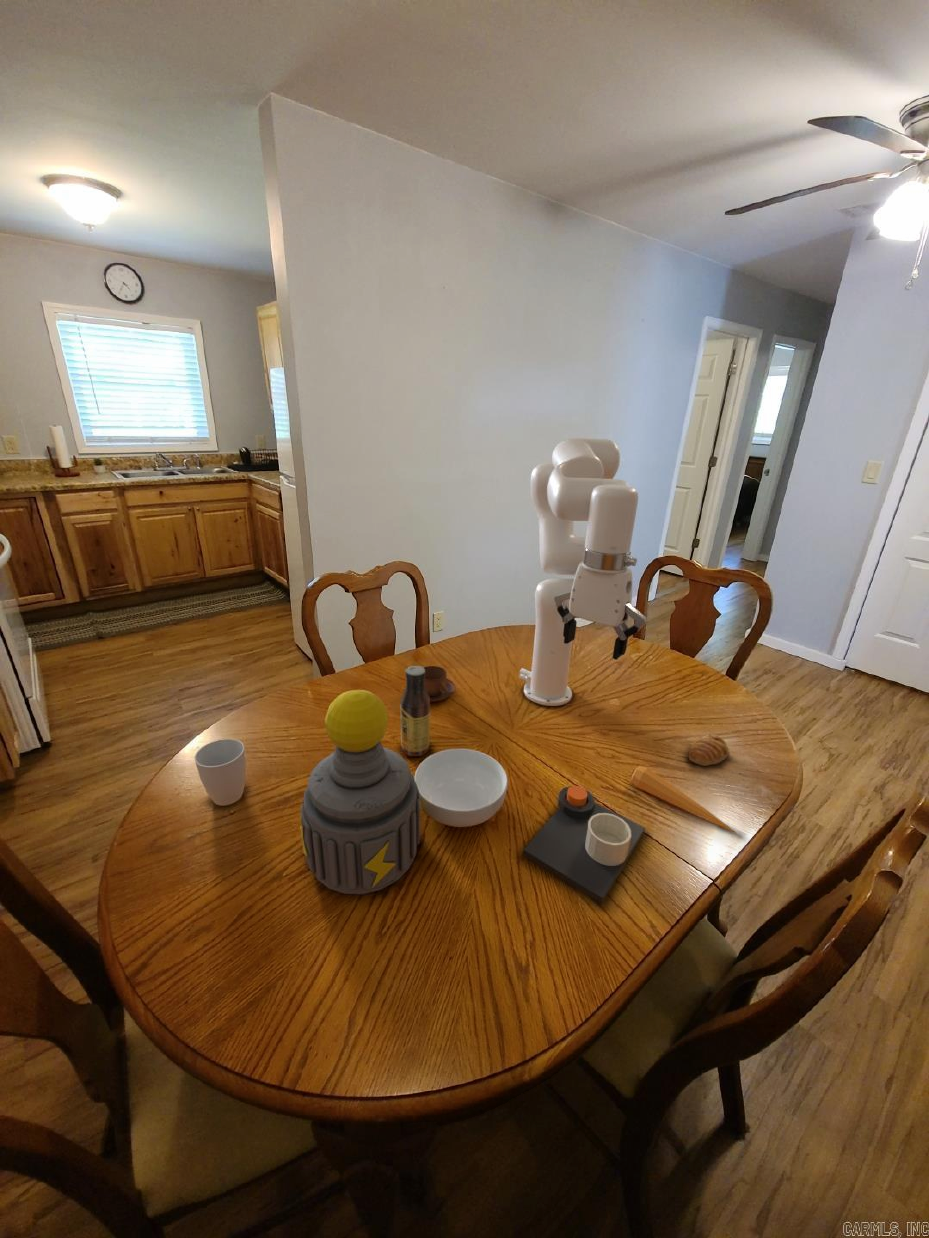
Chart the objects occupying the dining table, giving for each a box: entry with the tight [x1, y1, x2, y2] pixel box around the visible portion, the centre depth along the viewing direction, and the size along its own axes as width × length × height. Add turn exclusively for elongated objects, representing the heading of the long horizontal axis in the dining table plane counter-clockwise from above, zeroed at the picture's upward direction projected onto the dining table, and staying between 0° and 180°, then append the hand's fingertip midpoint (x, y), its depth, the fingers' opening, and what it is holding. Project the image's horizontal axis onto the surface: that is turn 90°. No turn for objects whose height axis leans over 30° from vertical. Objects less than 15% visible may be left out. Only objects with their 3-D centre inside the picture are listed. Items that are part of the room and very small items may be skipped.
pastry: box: [688, 734, 731, 767], centre depth 109 cm, size 9×7×4 cm
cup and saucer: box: [423, 665, 456, 703], centre depth 129 cm, size 12×12×6 cm
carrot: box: [630, 765, 737, 834], centre depth 95 cm, size 20×4×4 cm, turn 48°
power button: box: [566, 785, 588, 807], centre depth 92 cm, size 4×4×2 cm
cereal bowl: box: [413, 748, 509, 828], centre depth 92 cm, size 17×17×7 cm
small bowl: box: [585, 813, 631, 866], centre depth 82 cm, size 7×7×4 cm
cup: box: [193, 738, 247, 807], centre depth 92 cm, size 8×8×10 cm
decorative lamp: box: [299, 689, 423, 895], centre depth 78 cm, size 19×19×30 cm
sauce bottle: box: [399, 665, 431, 758], centre depth 105 cm, size 7×6×20 cm
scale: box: [522, 785, 646, 905], centre depth 86 cm, size 15×18×3 cm
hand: (592, 648), depth 92 cm, fingers open, 9 cm apart
